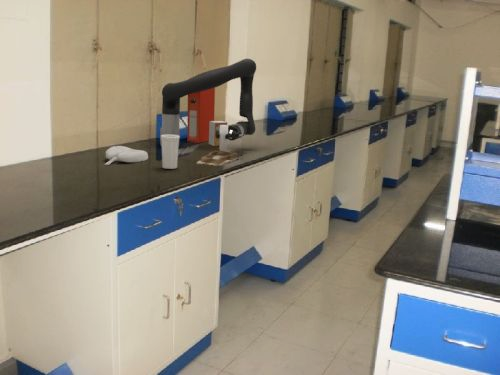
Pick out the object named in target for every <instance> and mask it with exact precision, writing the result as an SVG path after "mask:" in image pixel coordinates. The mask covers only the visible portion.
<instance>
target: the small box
mask: <svg viewBox="0 0 500 375" xmlns="http://www.w3.org/2000/svg"><path fill="white" fill-rule="evenodd" d="M220 125H228V122H227V121H223V120H214V121H210V123H209V141H208V145H211V146H213V147H218V146H219V142H220V138H216V130H219V131H220Z"/></svg>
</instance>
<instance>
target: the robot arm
mask: <svg viewBox="0 0 500 375" xmlns="http://www.w3.org/2000/svg"><path fill="white" fill-rule="evenodd" d="M256 71H257V63H256V61H255V60H253V59H251V58H244V59H241V60H239V61H236V62H234V63H232V64H230V65H227V66H223V67H218V68H215V69H210V70H207V71H204V72H201V73H199V74H196V75H194V76H193V77H190V78H188V79H186V80H183V81H179V82H174V83H172V82H170V83H167V84H165V85H164V86H163V87H162V90H161V96H162V104H161V106H162V107H161V127H160V128H159V130H160V134H159V137H160V138H159V139H160V140H159V142H160V143H159V144H160V146H161V147H162V140H161V135H167V134H170V135H178V136H180V114H181V111H180V110H181V98H183V97H186V96H188V95H189V94H192V93H197V92H202V91H205V90H209V89H212V88H215V89H216V88H218V87H220V86H222V85H225V84H226V83H228V82H230V81H233V80H235V79H239V80H240V94H239V107H238V108H239V111H238V112H239V116H240V117H242V118H245V119H246V120H247V121H241V120H240V121H237V122H236V123H234V124H230V125H228V134H226V135H225V139H228V141H231V142H232V141H235V140H238V139H241V138H242V137H244V136H245V135H246V136H252V135H254V134H255V132H256V124H255V119H254V113H253V111H254V110H253V108H254V105H253V104H254V102H253V101H254V97H253V82H254V77H255V73H256ZM216 138H220V131H219V130H216ZM178 147H180V143H179V144H178Z"/></svg>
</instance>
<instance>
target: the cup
mask: <svg viewBox="0 0 500 375" xmlns="http://www.w3.org/2000/svg"><path fill="white" fill-rule="evenodd" d="M161 140H162V146H161V157H162V158H161V163H162V164H161V165H162V168H163V169H169V170H170V169H171V170H173V169H177V168H178V158H179V157H178V156H179V146H178V144H179V145H180V135H179V136H178V135H170V134H167V135H161Z"/></svg>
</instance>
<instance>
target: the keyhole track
mask: <svg viewBox="0 0 500 375" xmlns="http://www.w3.org/2000/svg"><path fill="white" fill-rule="evenodd" d="M238 159H239V153H238V152H231V151H220V150H214V151H210V152H208V153H207V155H204V156H201V157H200V160H198V161H197V162H196V164H197V165H203V164H204V166H211V165H213V166H212V167H220V166H221V167H223V166H225V165H227V163H228V164H229V162H230V163H231V162H234V161H237V160H238Z"/></svg>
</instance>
